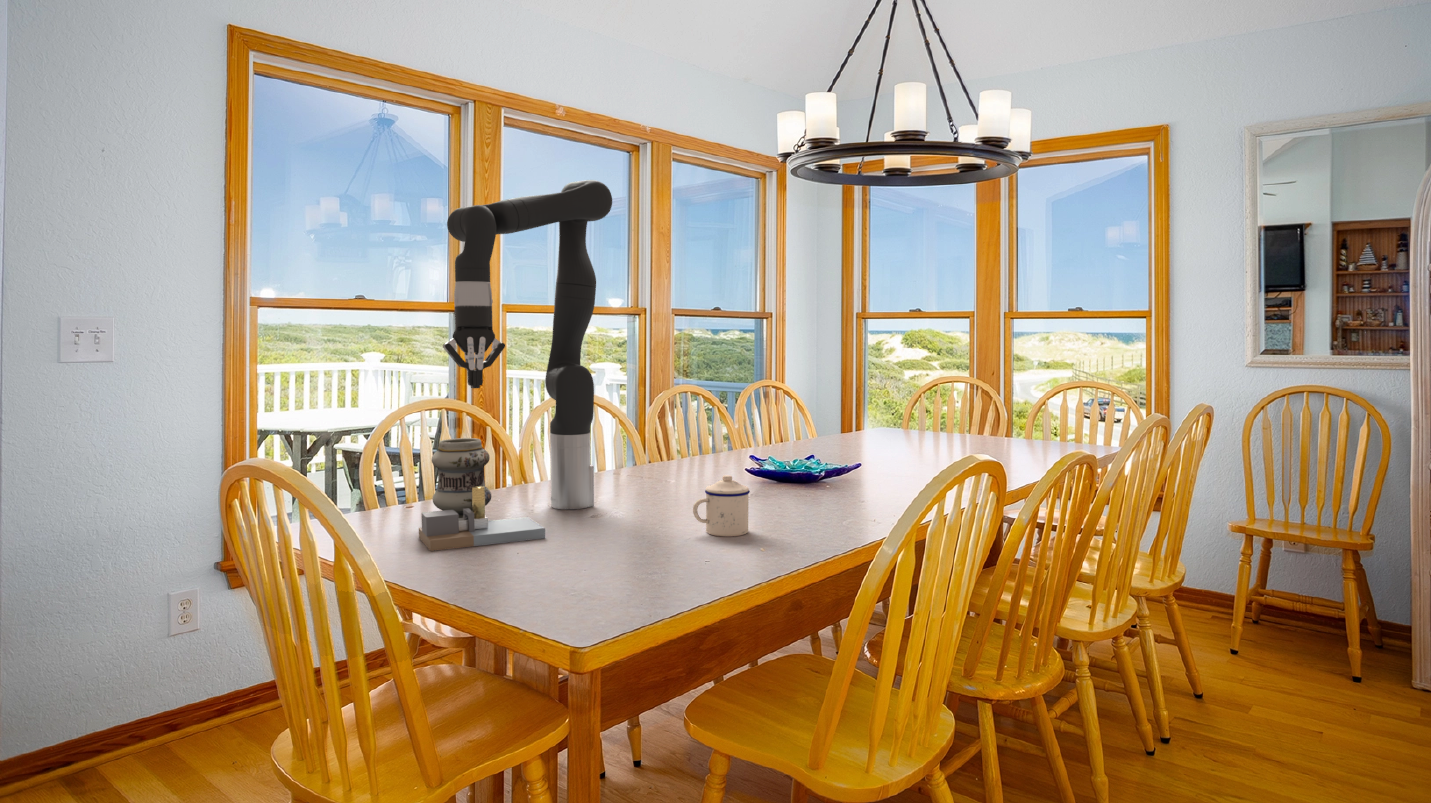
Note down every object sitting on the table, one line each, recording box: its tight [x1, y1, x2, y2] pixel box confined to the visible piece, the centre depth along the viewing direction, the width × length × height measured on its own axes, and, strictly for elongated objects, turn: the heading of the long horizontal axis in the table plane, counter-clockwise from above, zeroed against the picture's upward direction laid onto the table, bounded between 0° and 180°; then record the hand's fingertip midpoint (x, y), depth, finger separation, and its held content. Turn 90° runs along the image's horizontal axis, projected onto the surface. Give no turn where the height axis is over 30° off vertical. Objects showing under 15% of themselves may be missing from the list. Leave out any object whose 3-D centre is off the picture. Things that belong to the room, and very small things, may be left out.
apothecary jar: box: [431, 437, 492, 518], centre depth 189 cm, size 12×12×18 cm
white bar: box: [459, 486, 489, 531], centre depth 175 cm, size 10×2×8 cm, turn 118°
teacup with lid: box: [692, 474, 751, 538], centre depth 181 cm, size 12×9×12 cm
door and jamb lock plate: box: [418, 508, 546, 552], centre depth 177 cm, size 22×12×6 cm, turn 118°
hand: (475, 388), depth 186 cm, fingers closed
